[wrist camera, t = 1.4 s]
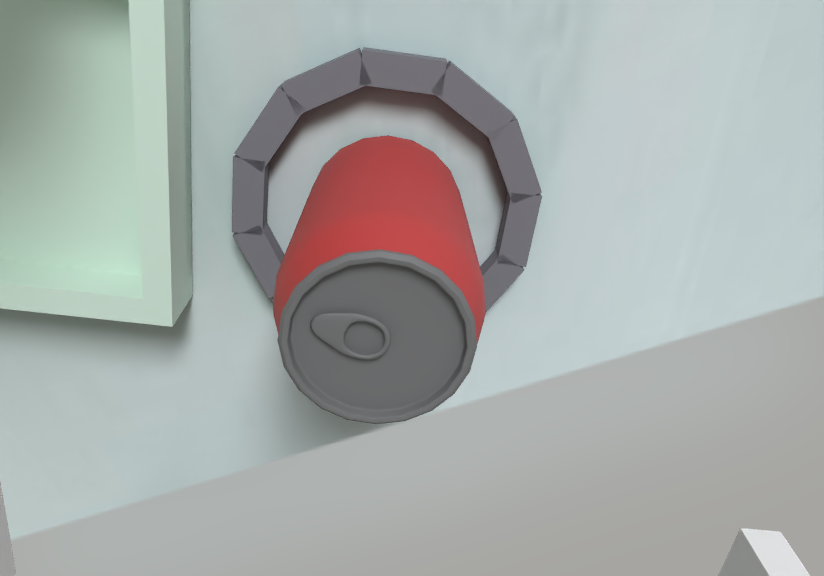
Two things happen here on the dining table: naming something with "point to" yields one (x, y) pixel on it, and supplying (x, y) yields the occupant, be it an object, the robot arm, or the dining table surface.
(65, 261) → the bin
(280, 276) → the beer can
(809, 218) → the dining table surface
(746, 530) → the robot arm
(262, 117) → the socket ring
